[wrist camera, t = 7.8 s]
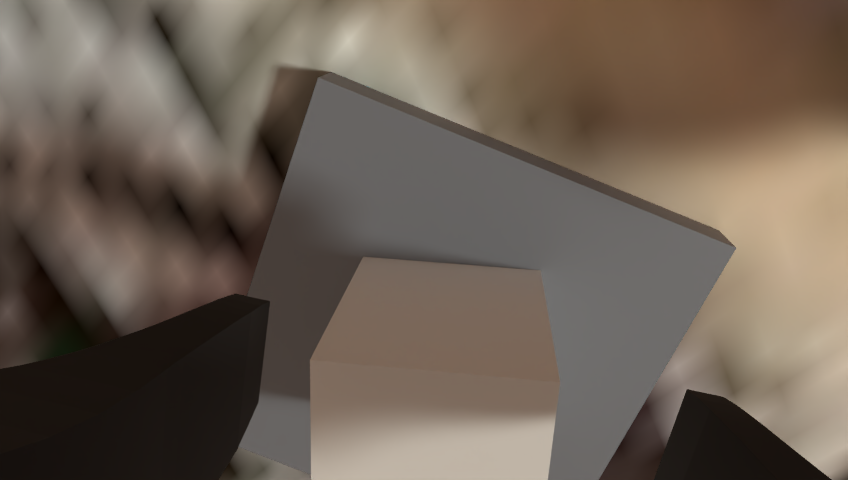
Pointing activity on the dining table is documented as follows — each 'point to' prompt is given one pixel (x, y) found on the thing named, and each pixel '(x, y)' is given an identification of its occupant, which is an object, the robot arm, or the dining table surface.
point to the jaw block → (435, 376)
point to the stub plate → (473, 261)
